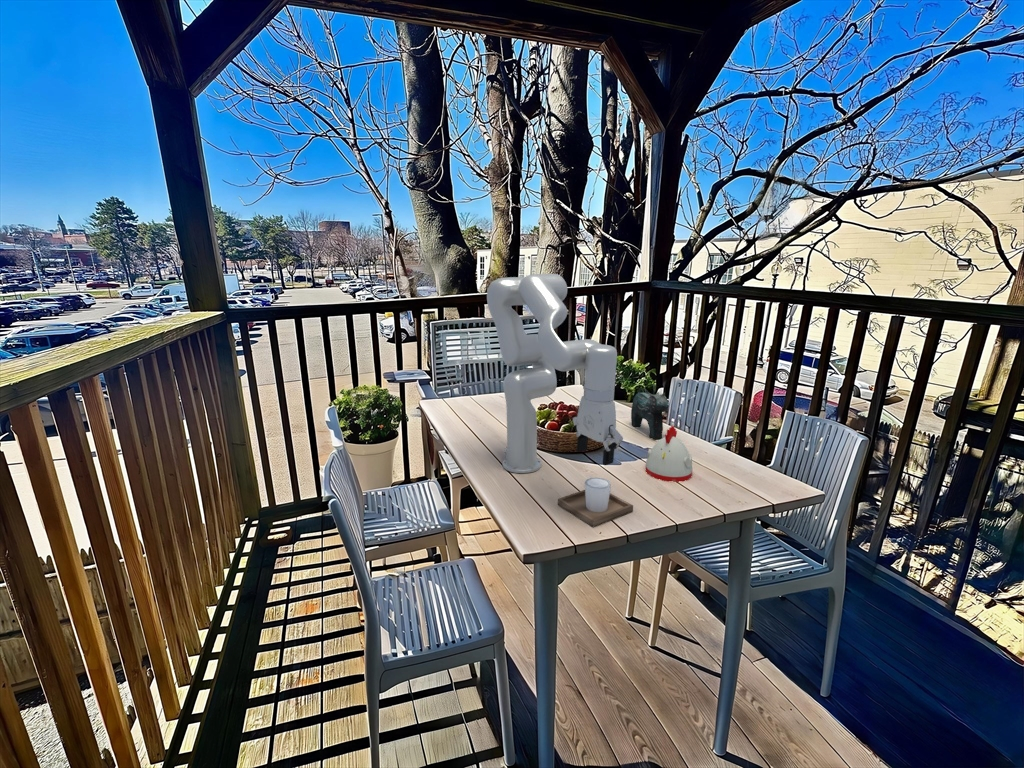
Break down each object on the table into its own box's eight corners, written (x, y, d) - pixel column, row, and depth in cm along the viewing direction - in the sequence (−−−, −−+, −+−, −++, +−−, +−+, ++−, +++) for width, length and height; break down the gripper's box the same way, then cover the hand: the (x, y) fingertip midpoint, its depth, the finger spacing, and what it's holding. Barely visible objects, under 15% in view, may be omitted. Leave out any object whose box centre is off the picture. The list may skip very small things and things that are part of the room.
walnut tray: (557, 504, 129) (557, 498, 129) (595, 491, 137) (595, 485, 136) (593, 527, 118) (593, 521, 117) (632, 511, 125) (633, 505, 125)
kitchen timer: (638, 474, 148) (641, 428, 145) (654, 460, 159) (658, 417, 155) (683, 486, 140) (687, 438, 136) (697, 470, 151) (702, 425, 147)
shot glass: (592, 515, 122) (593, 490, 121) (578, 503, 128) (579, 479, 127) (615, 510, 125) (616, 485, 123) (600, 499, 131) (601, 475, 129)
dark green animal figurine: (667, 440, 176) (670, 388, 171) (651, 442, 175) (654, 389, 170) (640, 424, 195) (643, 376, 190) (625, 425, 193) (628, 377, 189)
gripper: (565, 388, 125) (562, 448, 129) (612, 405, 111) (607, 473, 116) (586, 384, 129) (583, 443, 133) (635, 400, 115) (629, 465, 120)
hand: (594, 456), depth 124 cm, fingers open, 9 cm apart
